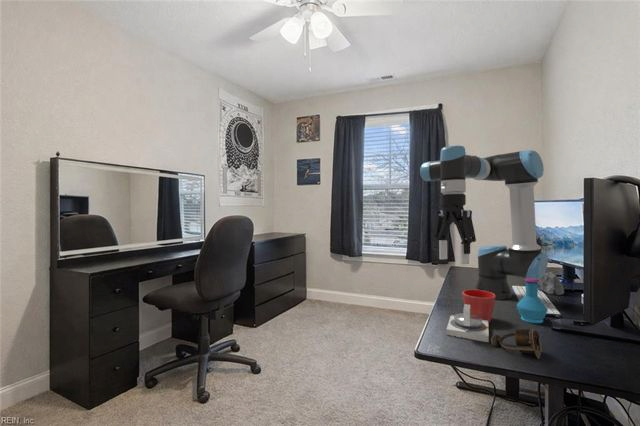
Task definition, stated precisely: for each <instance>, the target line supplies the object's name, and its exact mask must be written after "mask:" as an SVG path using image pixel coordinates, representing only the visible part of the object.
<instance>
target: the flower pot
mask: <svg viewBox="0 0 640 426" xmlns="http://www.w3.org/2000/svg"><path fill="white" fill-rule="evenodd" d="M461 293H462V298H463V304H467V305H471V314H473V315H476V316H479V317H481V318H482V320H487V321H488V323H491V321H492V317H493V313H494V307H495V303H496V299H495V297H496V296H495V294H493V293H491V292H487V291H483V290H474V289H465V290H463V291H462V292H461Z"/></svg>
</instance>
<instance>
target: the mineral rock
mask: <svg viewBox="0 0 640 426" xmlns="http://www.w3.org/2000/svg"><path fill="white" fill-rule="evenodd" d="M538 280H539V282H537V283H538V289H539V290H541V291H542V292H544V293H547V294H549V295H553V296H554V295H555V296H560V295H564V293H565V288H564V286H563V284H562V282H561V280H560V279H559V277H558V276H557V275H555V274H554V273H553V272H551V271H547V272H545V274H544V275H543V277H542V278H540V279H538Z"/></svg>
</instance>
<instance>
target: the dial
mask: <svg viewBox="0 0 640 426" xmlns="http://www.w3.org/2000/svg"><path fill="white" fill-rule="evenodd" d="M463 304H464V303H463ZM462 312H463V313H462ZM462 312H461V313H455V314H454V315H453V316H454V322H455V324H457V325H459V326H461V327H465V328H480V327H482V318H481V317H479V316H476V315H473V314H471V305H467V304H464V305H463V310H462Z"/></svg>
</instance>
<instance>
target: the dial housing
mask: <svg viewBox="0 0 640 426" xmlns="http://www.w3.org/2000/svg"><path fill="white" fill-rule="evenodd" d="M489 329H490V328H489V322H488V321H487V320H482V327H480V328H465V327H461V326H459V325H457V324H455V322H454V315H450V317H449V320H448V324H447V325H446V336H449V335H450V337H455V336H456V338H461V337H462V339H466V338H467V340H473V341H479V342H485V343H489V341H490V338H489V337H490V336H489V335H490V334H489Z"/></svg>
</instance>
